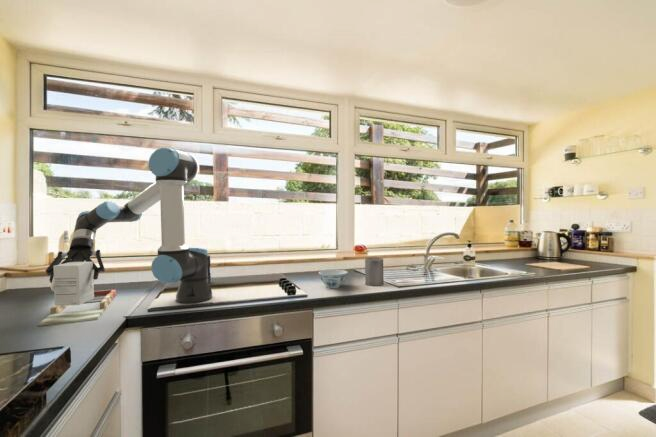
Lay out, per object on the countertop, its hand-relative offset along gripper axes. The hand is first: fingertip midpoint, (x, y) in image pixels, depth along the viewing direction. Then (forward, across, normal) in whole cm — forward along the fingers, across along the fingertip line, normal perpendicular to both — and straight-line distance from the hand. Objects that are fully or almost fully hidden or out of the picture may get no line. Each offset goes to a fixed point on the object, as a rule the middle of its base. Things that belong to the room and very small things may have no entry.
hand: (72, 287), depth 122 cm
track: (-1, 0, -17) cm, 17 cm away
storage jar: (-20, -47, -37) cm, 63 cm away
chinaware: (+6, -109, -10) cm, 109 cm away
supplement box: (+2, 0, -6) cm, 7 cm away
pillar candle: (+9, -131, -7) cm, 132 cm away
